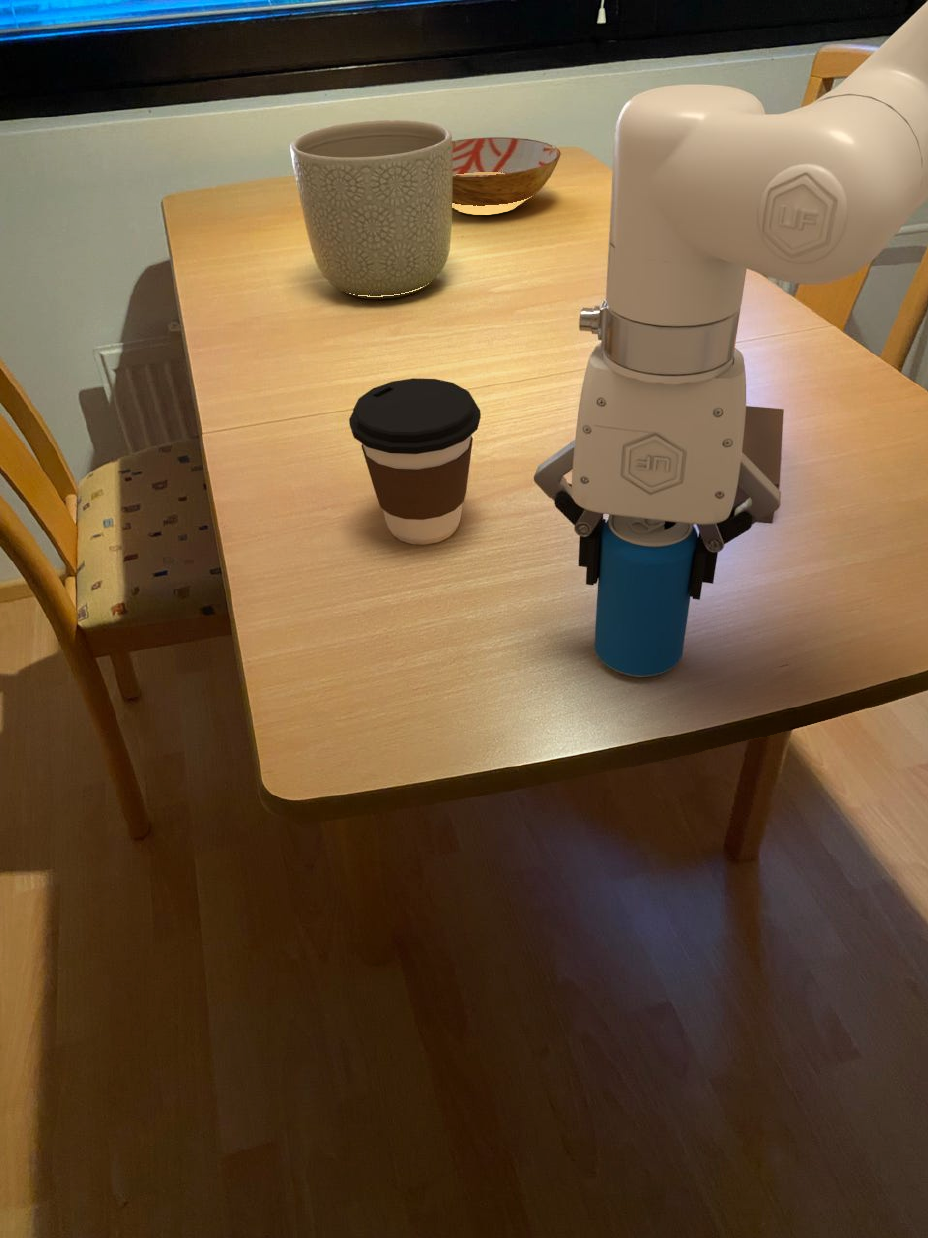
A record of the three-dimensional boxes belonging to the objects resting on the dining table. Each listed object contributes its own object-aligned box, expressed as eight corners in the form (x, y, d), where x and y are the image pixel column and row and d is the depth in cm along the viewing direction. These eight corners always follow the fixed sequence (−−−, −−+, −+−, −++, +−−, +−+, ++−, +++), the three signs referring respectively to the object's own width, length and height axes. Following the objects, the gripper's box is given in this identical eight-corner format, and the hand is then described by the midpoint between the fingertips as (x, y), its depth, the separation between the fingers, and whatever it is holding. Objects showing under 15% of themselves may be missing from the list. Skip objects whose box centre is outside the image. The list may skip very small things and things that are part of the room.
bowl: (589, 208, 155) (591, 156, 150) (459, 239, 146) (456, 185, 141) (509, 177, 172) (508, 129, 167) (388, 202, 163) (383, 153, 158)
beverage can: (700, 660, 69) (721, 524, 61) (634, 696, 66) (648, 559, 58) (640, 615, 73) (653, 483, 65) (576, 648, 70) (582, 515, 63)
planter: (302, 271, 138) (280, 129, 126) (437, 252, 141) (428, 113, 129) (325, 322, 122) (302, 166, 110) (476, 299, 126) (471, 145, 114)
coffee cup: (338, 531, 84) (319, 410, 76) (422, 481, 90) (412, 364, 82) (426, 576, 78) (415, 450, 70) (509, 519, 84) (507, 397, 76)
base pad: (776, 445, 92) (783, 408, 90) (772, 523, 82) (779, 483, 79) (634, 432, 96) (637, 396, 93) (612, 505, 85) (615, 466, 83)
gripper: (508, 348, 53) (511, 596, 64) (828, 372, 49) (771, 632, 60) (536, 300, 58) (535, 535, 70) (826, 318, 54) (775, 565, 66)
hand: (645, 578), depth 65 cm, fingers closed on beverage can, 6 cm apart
